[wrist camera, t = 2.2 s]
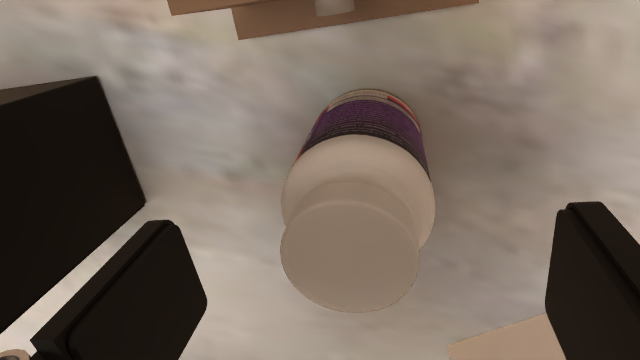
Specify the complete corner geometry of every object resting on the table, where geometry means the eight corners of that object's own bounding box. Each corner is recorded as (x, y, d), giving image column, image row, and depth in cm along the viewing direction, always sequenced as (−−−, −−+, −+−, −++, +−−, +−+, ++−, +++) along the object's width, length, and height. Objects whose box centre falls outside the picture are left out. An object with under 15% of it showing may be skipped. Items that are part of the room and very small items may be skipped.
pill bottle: (301, 100, 19) (229, 193, 11) (412, 75, 18) (432, 159, 9) (328, 195, 21) (286, 336, 13) (428, 180, 20) (457, 326, 11)
